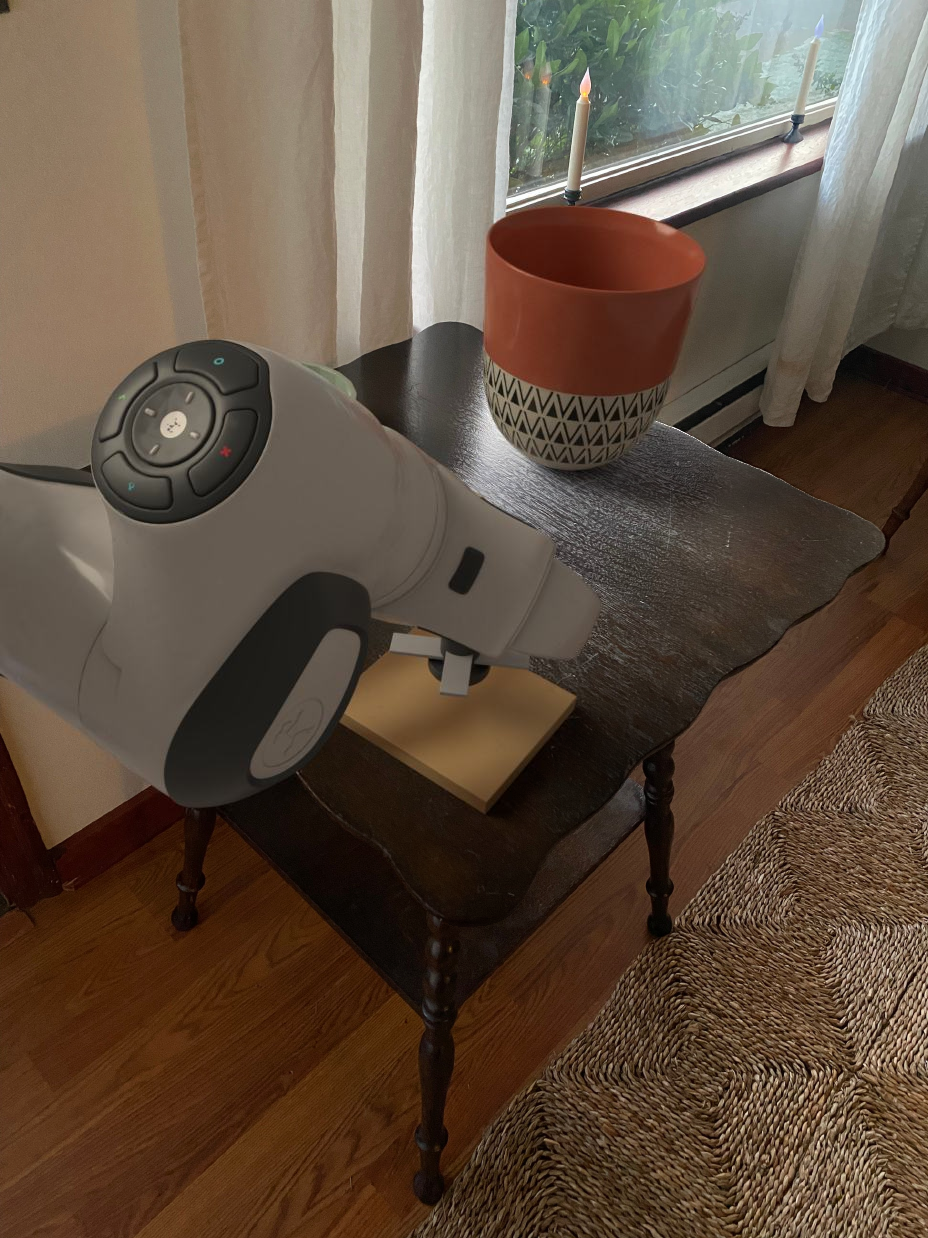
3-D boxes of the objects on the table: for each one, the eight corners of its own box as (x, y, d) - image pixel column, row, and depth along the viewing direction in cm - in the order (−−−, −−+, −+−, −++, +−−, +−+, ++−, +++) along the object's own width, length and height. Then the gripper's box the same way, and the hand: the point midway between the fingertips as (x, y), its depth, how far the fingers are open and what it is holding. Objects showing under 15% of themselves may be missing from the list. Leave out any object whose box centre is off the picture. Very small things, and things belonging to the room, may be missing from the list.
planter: (446, 413, 98) (458, 210, 83) (608, 395, 103) (646, 200, 88) (506, 519, 85) (532, 300, 70) (688, 493, 90) (749, 283, 75)
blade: (379, 707, 59) (379, 569, 51) (401, 609, 66) (405, 474, 58) (523, 725, 59) (547, 589, 51) (530, 625, 66) (552, 491, 58)
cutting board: (329, 716, 66) (328, 703, 65) (427, 628, 73) (428, 614, 72) (485, 815, 61) (487, 802, 60) (574, 709, 68) (577, 696, 67)
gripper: (202, 506, 49) (326, 554, 62) (521, 674, 41) (587, 689, 54) (251, 401, 49) (366, 472, 61) (582, 551, 41) (634, 596, 54)
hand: (472, 575), depth 58 cm, fingers closed on blade, 3 cm apart
